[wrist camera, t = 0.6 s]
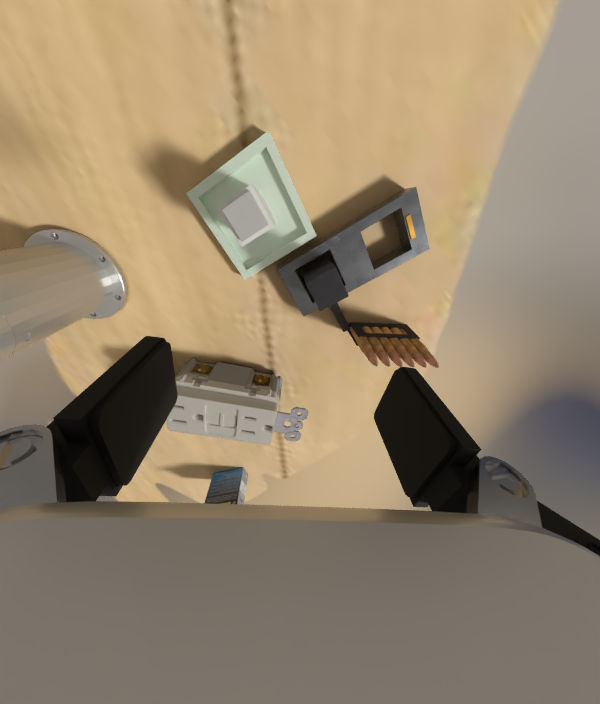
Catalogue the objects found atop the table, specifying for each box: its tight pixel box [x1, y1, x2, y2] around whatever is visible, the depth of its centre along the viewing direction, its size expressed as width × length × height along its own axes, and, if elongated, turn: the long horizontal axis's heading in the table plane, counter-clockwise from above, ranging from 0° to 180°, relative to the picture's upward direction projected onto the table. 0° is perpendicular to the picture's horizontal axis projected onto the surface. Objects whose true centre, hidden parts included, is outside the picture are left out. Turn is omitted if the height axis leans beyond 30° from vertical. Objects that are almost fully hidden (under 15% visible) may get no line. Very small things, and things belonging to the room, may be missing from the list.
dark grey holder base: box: [277, 187, 429, 332], centre depth 32 cm, size 20×15×9 cm
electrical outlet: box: [167, 358, 308, 445], centre depth 42 cm, size 12×28×10 cm, turn 77°
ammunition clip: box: [348, 322, 439, 368], centre depth 36 cm, size 11×2×12 cm, turn 86°
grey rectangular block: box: [218, 184, 277, 247], centre depth 26 cm, size 4×4×10 cm
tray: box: [186, 130, 317, 280], centre depth 30 cm, size 12×12×2 cm
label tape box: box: [205, 468, 248, 505], centre depth 57 cm, size 9×4×12 cm, turn 103°
